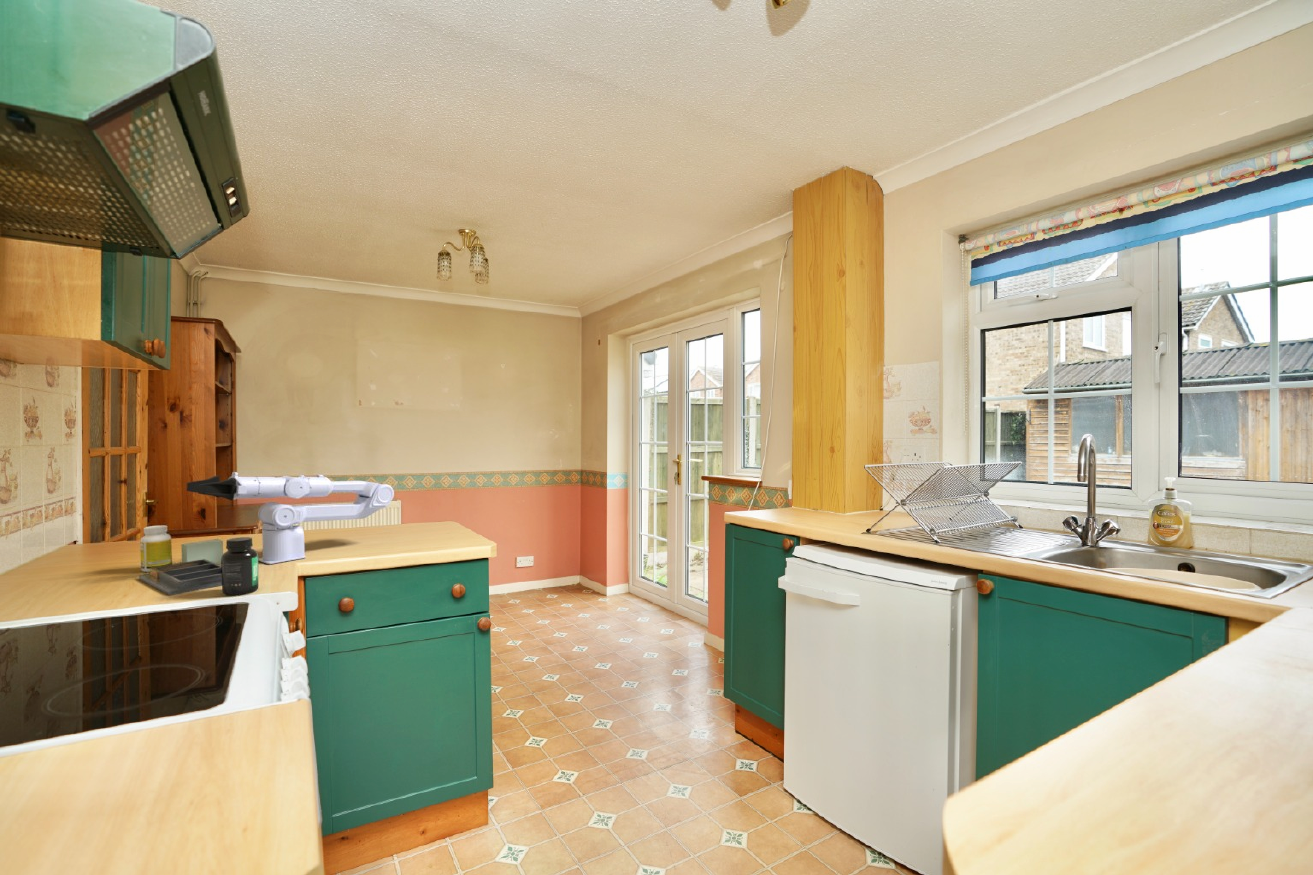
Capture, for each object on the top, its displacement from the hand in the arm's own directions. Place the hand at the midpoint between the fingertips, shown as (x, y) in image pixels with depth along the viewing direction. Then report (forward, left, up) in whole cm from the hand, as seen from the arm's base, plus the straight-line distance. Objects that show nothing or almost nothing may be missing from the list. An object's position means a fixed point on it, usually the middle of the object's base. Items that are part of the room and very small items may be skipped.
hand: (192, 488), depth 150 cm
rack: (+2, +5, -22) cm, 22 cm away
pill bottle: (+4, -14, -22) cm, 26 cm away
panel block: (-5, -11, -22) cm, 25 cm away
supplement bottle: (-1, +25, -22) cm, 33 cm away
